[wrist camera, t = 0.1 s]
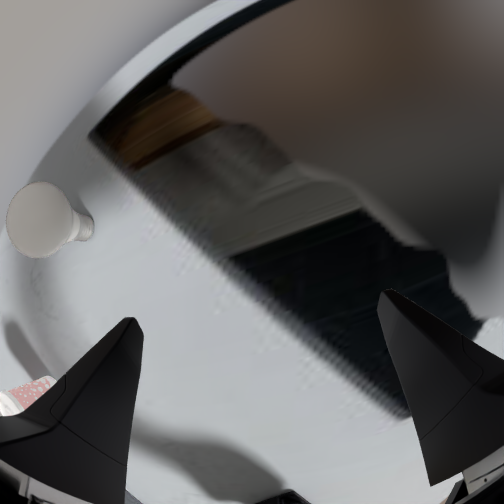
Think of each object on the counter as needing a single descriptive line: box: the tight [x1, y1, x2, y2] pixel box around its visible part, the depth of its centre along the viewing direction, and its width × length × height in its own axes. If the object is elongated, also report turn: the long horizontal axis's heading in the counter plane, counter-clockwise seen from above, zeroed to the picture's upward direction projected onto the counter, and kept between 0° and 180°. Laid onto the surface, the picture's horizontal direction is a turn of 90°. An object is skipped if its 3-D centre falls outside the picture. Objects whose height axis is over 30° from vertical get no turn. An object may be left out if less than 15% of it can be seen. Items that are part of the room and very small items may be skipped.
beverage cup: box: [0, 376, 57, 416], centre depth 18 cm, size 6×6×14 cm
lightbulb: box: [6, 182, 94, 259], centre depth 19 cm, size 6×6×11 cm
